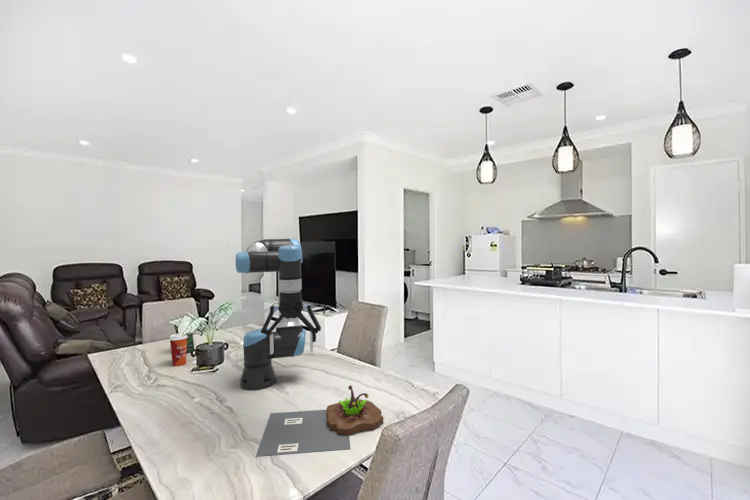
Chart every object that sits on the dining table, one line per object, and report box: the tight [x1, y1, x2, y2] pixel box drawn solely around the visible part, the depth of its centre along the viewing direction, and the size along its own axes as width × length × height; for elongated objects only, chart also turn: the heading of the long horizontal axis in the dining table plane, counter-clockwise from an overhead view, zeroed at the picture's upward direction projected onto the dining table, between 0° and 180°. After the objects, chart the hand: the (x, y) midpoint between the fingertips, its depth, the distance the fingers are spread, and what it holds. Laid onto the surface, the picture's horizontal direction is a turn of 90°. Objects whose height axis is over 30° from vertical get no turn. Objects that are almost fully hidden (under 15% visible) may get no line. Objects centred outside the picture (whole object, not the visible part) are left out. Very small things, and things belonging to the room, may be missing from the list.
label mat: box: [255, 409, 351, 458], centre depth 122 cm, size 28×26×1 cm
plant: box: [325, 384, 384, 436], centre depth 129 cm, size 20×20×11 cm
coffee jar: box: [173, 324, 195, 354], centre depth 205 cm, size 10×8×19 cm
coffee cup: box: [169, 333, 188, 367], centre depth 186 cm, size 8×8×15 cm
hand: (291, 352), depth 127 cm, fingers open, 13 cm apart
